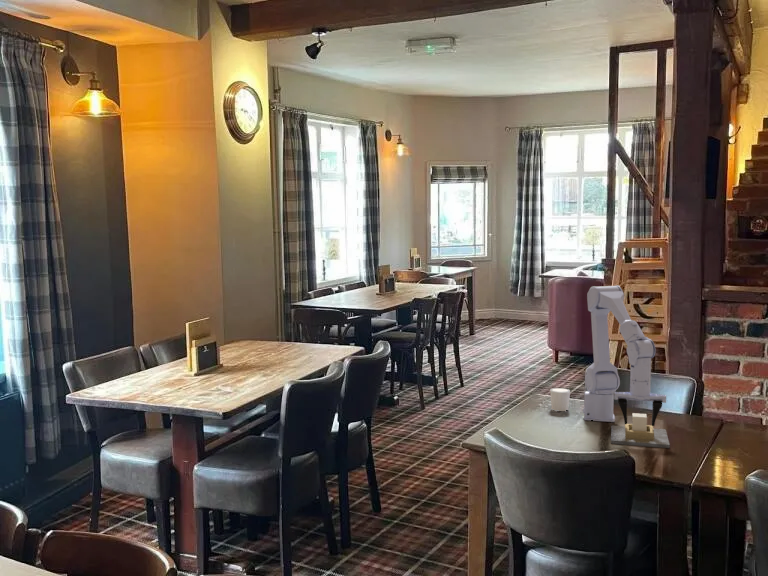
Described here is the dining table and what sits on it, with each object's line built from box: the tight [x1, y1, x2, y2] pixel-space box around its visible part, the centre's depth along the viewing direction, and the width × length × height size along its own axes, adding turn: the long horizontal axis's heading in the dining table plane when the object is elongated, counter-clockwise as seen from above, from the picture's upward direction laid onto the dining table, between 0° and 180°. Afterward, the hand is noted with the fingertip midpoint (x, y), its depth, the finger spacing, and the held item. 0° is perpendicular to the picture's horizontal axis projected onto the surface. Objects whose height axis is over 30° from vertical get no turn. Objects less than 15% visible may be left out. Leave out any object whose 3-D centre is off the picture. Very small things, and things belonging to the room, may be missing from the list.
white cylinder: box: [549, 387, 571, 412], centre depth 250 cm, size 7×7×7 cm
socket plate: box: [610, 423, 671, 449], centre depth 217 cm, size 16×16×3 cm
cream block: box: [631, 412, 648, 432], centre depth 216 cm, size 4×4×6 cm
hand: (639, 424), depth 217 cm, fingers open, 7 cm apart
